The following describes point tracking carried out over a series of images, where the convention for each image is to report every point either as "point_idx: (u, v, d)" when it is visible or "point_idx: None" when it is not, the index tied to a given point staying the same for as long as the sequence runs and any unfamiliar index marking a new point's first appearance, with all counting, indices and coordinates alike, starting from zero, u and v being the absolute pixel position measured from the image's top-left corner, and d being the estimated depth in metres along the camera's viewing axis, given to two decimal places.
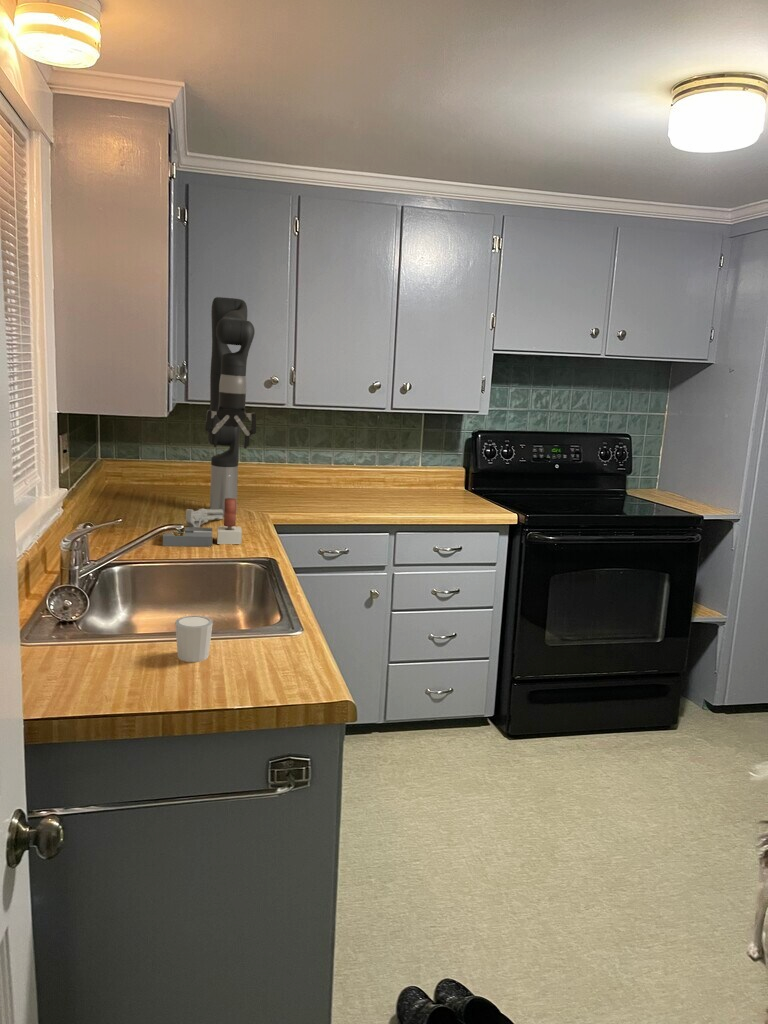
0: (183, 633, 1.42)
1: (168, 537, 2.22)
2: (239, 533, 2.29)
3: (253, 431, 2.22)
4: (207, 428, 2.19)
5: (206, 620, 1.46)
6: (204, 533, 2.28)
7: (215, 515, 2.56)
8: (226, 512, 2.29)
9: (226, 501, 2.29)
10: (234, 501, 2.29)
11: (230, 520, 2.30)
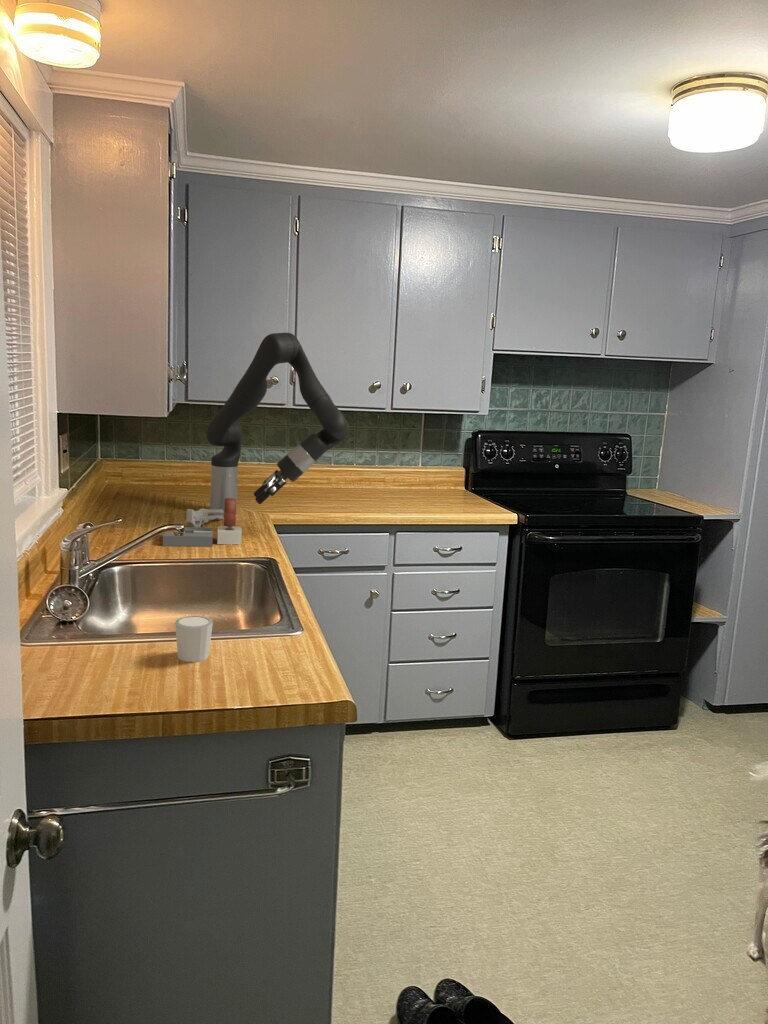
0: (183, 633, 1.42)
1: (168, 537, 2.22)
2: (239, 533, 2.29)
3: None
4: (273, 494, 2.26)
5: (206, 620, 1.46)
6: (204, 533, 2.28)
7: (215, 515, 2.56)
8: (226, 512, 2.29)
9: (226, 501, 2.29)
10: (234, 501, 2.29)
11: (230, 520, 2.30)
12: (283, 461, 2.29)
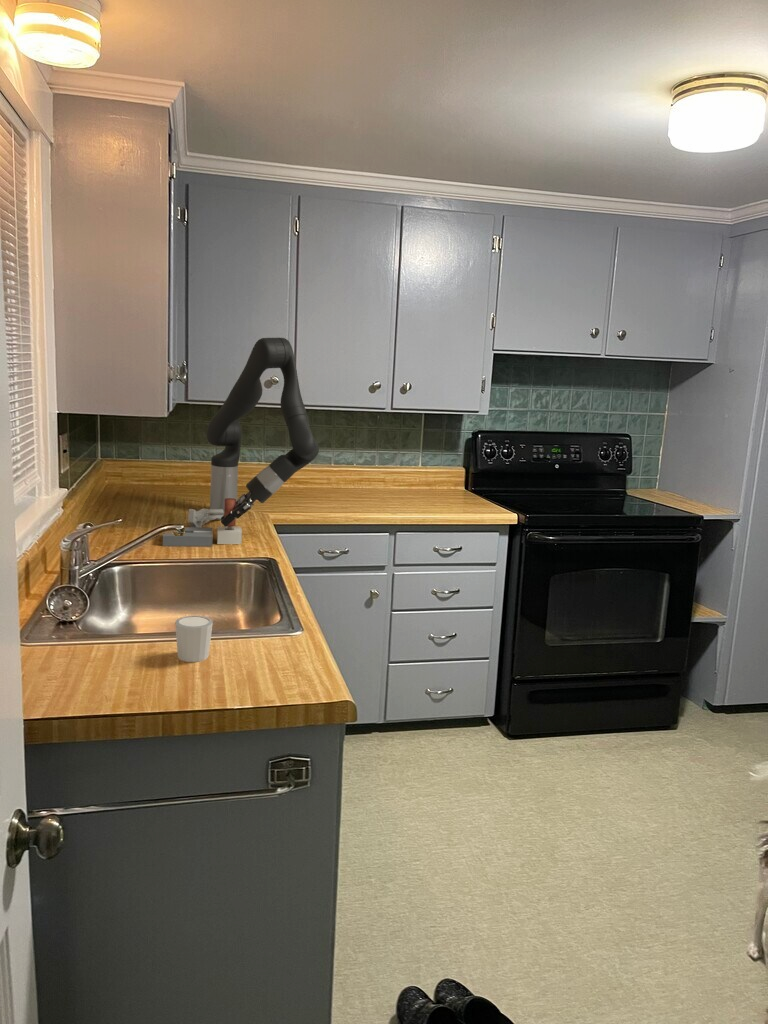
0: (183, 633, 1.42)
1: (168, 537, 2.22)
2: (239, 533, 2.29)
3: (238, 511, 2.35)
4: (239, 516, 2.27)
5: (206, 620, 1.46)
6: (204, 533, 2.28)
7: (216, 515, 2.56)
8: (226, 512, 2.29)
9: (226, 501, 2.29)
10: (234, 501, 2.29)
11: None
12: (252, 482, 2.28)
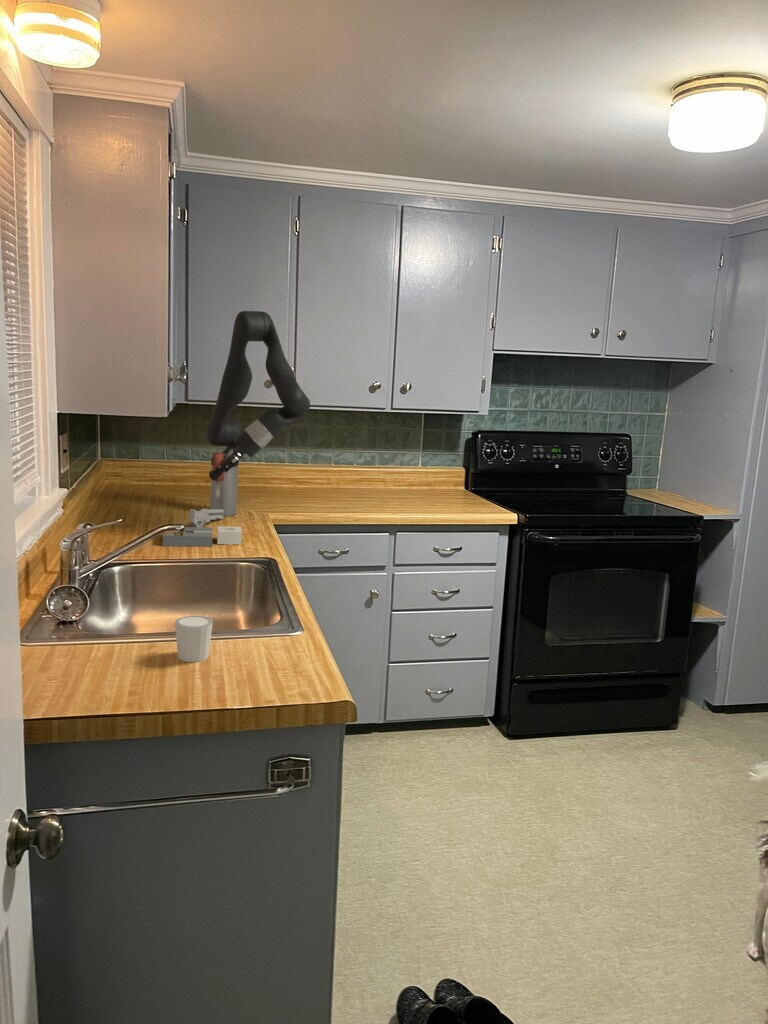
0: (183, 633, 1.42)
1: (168, 537, 2.22)
2: (239, 533, 2.29)
3: (226, 466, 2.32)
4: (227, 470, 2.24)
5: (206, 620, 1.46)
6: (204, 533, 2.28)
7: (216, 515, 2.56)
8: (214, 466, 2.26)
9: (214, 455, 2.25)
10: (222, 455, 2.26)
11: None
12: (241, 436, 2.25)
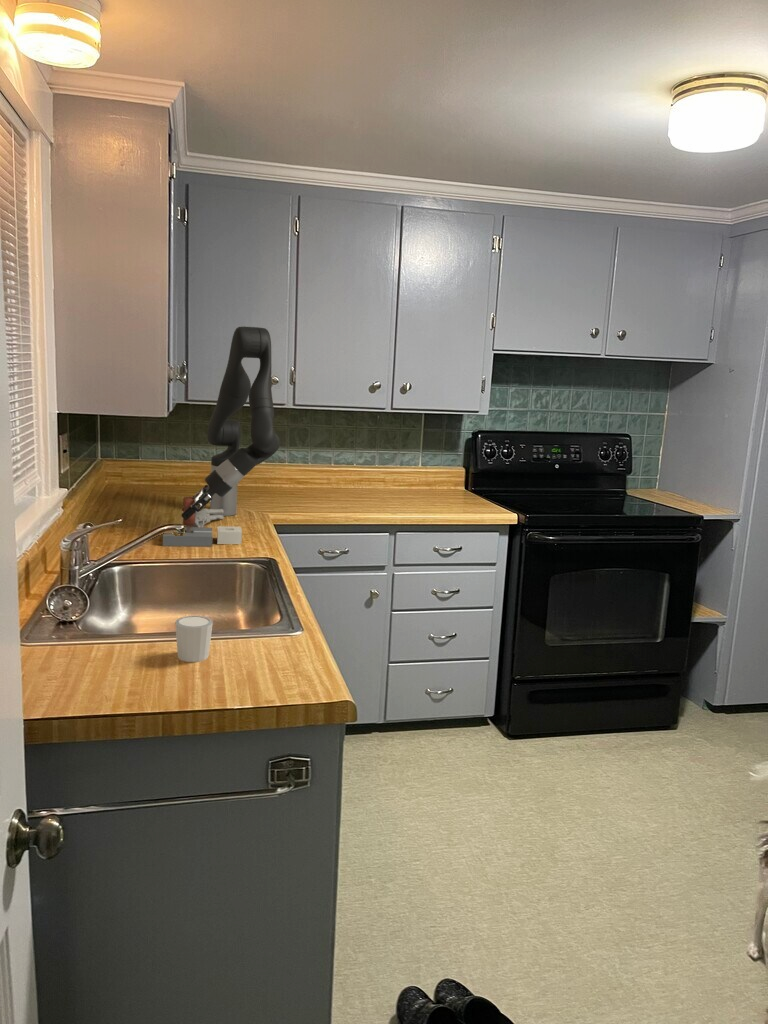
0: (183, 633, 1.42)
1: (168, 537, 2.22)
2: (239, 533, 2.29)
3: None
4: (199, 510, 2.22)
5: (206, 620, 1.46)
6: (204, 533, 2.28)
7: (216, 515, 2.56)
8: None
9: (185, 500, 2.26)
10: (193, 500, 2.27)
11: (189, 519, 2.27)
12: (211, 476, 2.25)
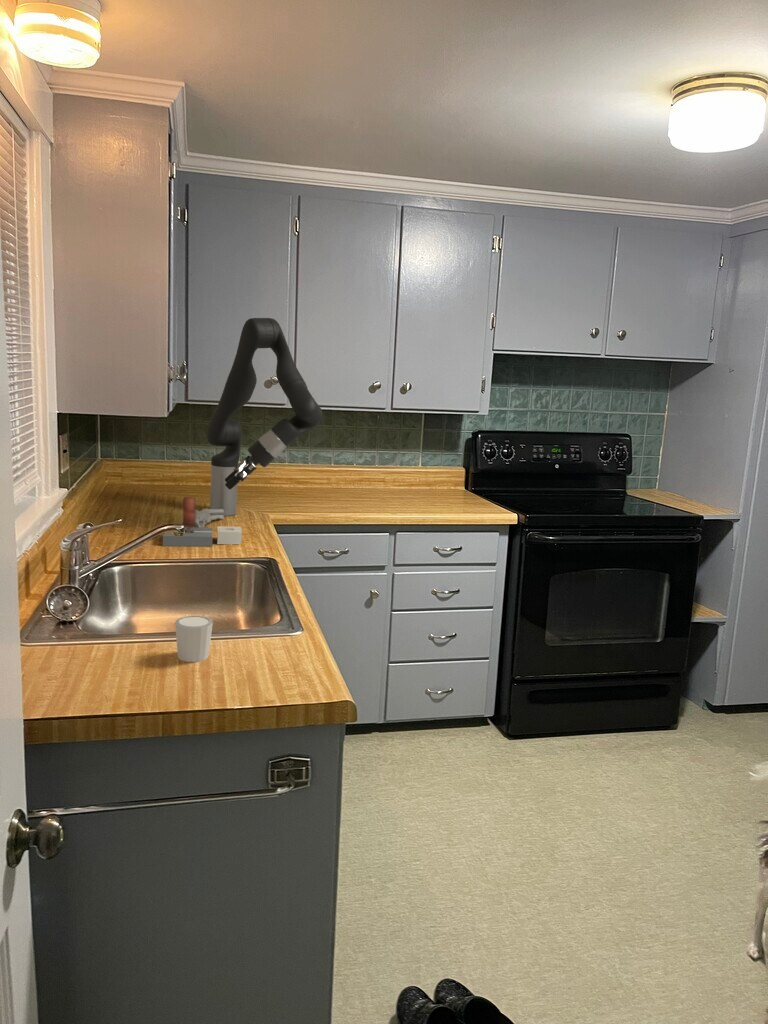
0: (183, 633, 1.42)
1: (168, 537, 2.22)
2: (239, 533, 2.29)
3: None
4: (243, 479, 2.23)
5: (206, 620, 1.46)
6: (204, 533, 2.28)
7: (217, 515, 2.56)
8: (185, 511, 2.27)
9: (185, 500, 2.26)
10: (193, 500, 2.27)
11: (189, 519, 2.27)
12: (254, 446, 2.26)
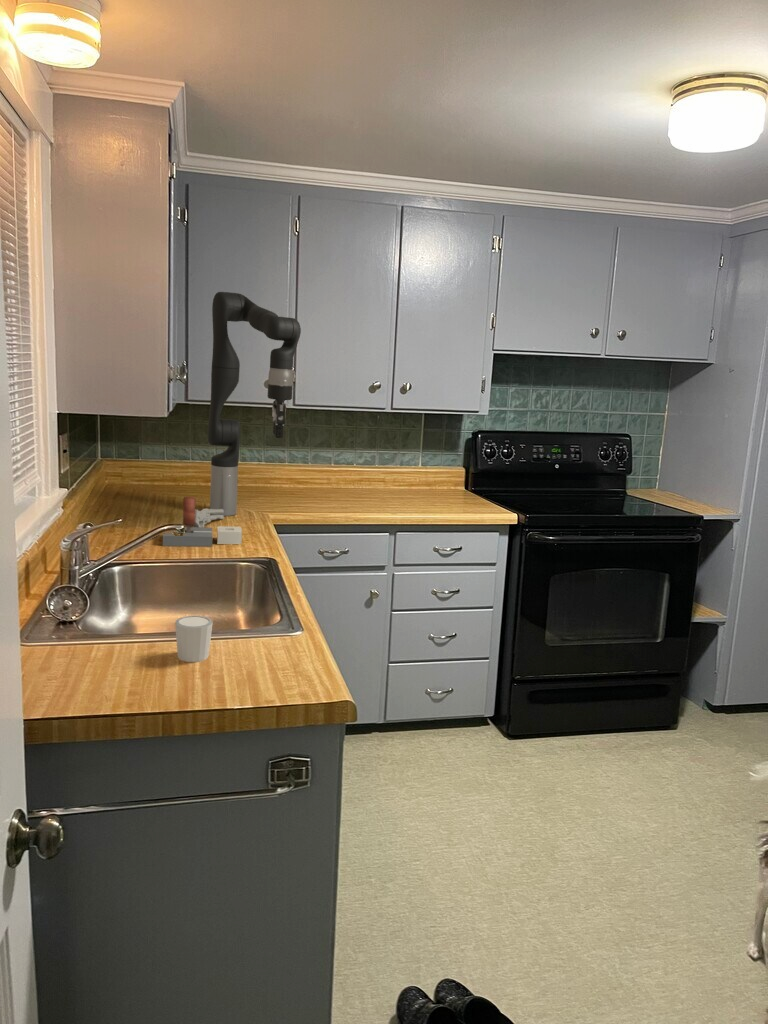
0: (183, 633, 1.42)
1: (168, 537, 2.22)
2: (239, 533, 2.29)
3: None
4: (284, 421, 2.33)
5: (206, 620, 1.46)
6: (204, 533, 2.28)
7: (217, 515, 2.56)
8: (185, 511, 2.27)
9: (185, 500, 2.26)
10: (193, 500, 2.27)
11: (189, 519, 2.27)
12: (270, 390, 2.35)
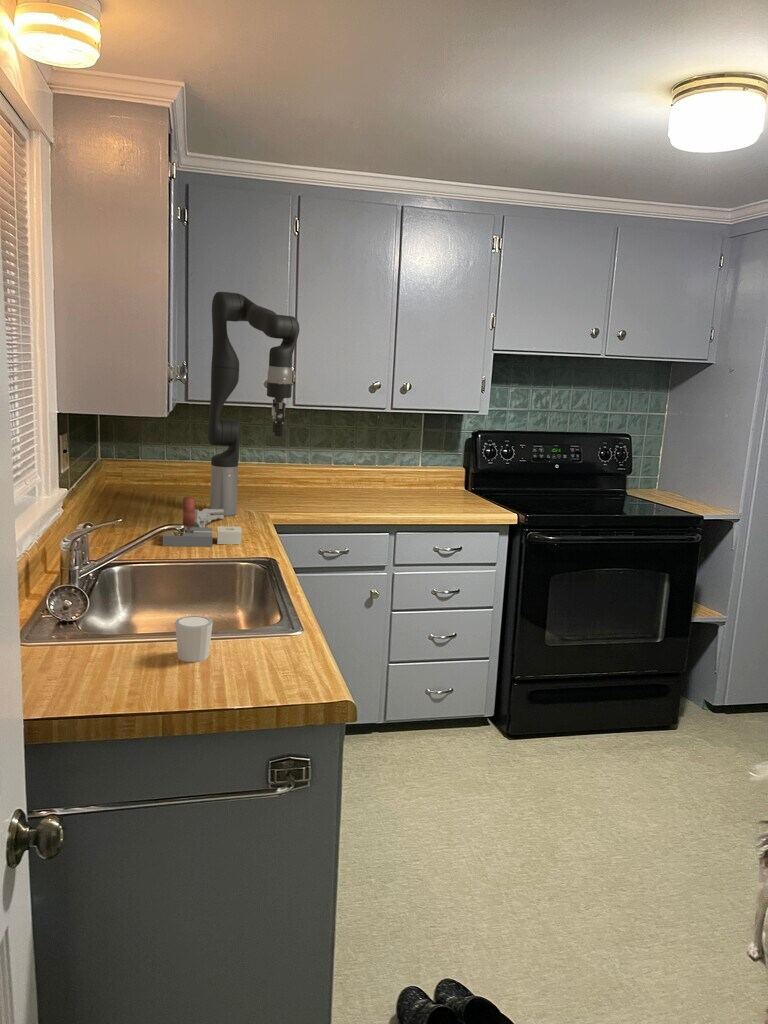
0: (183, 633, 1.42)
1: (168, 537, 2.22)
2: (239, 533, 2.29)
3: None
4: None
5: (206, 620, 1.46)
6: (204, 533, 2.28)
7: (217, 515, 2.57)
8: (185, 511, 2.27)
9: (184, 500, 2.26)
10: (193, 500, 2.26)
11: (189, 519, 2.27)
12: (269, 388, 2.35)
